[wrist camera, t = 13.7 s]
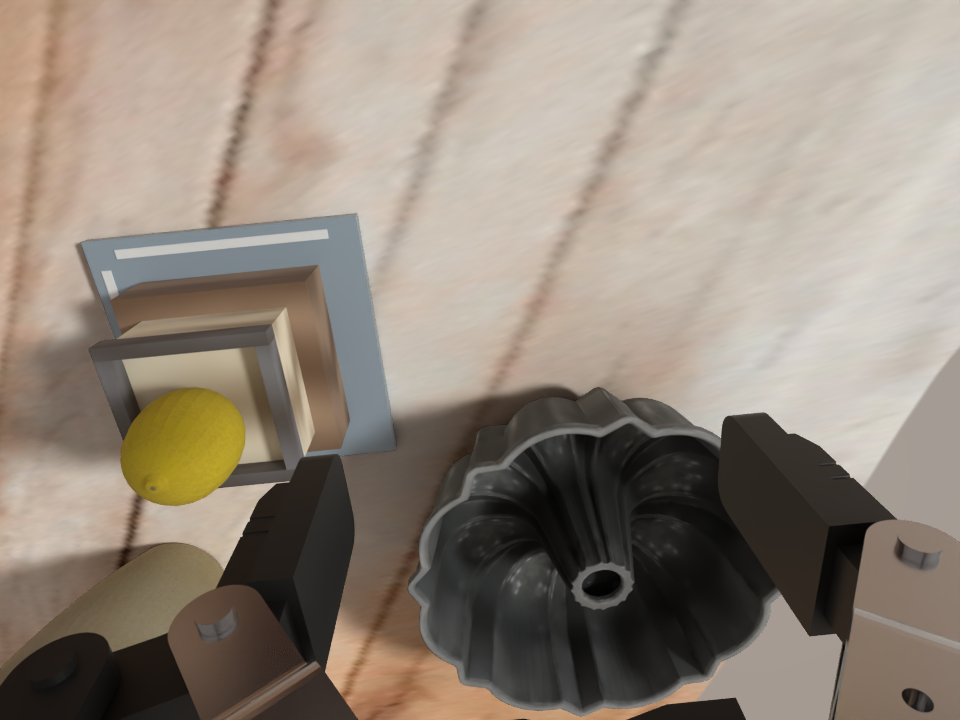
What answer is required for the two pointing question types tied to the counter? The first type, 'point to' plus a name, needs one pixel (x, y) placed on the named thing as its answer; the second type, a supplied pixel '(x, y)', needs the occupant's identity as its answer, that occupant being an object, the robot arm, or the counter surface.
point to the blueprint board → (266, 249)
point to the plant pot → (133, 600)
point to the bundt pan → (587, 558)
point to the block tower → (234, 360)
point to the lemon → (183, 446)
